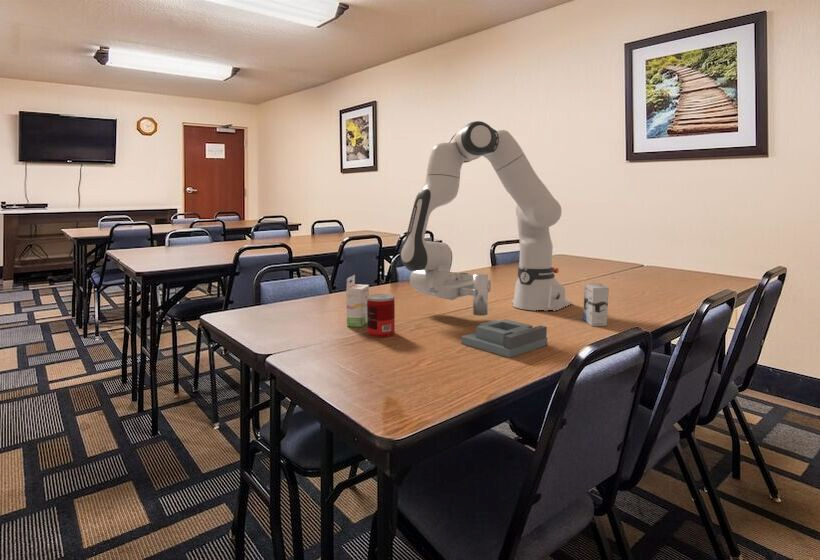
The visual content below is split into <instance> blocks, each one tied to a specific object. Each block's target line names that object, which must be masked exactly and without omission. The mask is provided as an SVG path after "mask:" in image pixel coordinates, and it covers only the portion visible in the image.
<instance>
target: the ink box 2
mask: <svg viewBox="0 0 820 560" xmlns="http://www.w3.org/2000/svg"><path fill="white" fill-rule="evenodd" d="M609 290H610V289H609V287H608V286H606V285H604V284H602V283H600V282H599V283H598V282H596V283H594V282H593V283H584V291H583V292H584V293H583V308H582V309H583V310H582V311H583V312H582V320H583V321H584V322H586V323H587V324H588V325H590V326H591V327H607V325H608V309H609V308H608V305H609Z"/></svg>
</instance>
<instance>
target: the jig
mask: <svg viewBox="0 0 820 560" xmlns="http://www.w3.org/2000/svg"><path fill="white" fill-rule="evenodd" d="M533 326H534V325H531V324H527V323H523V322H518V321H515V320H509V319H505V318H504V319H501V320H496V319H493V320H489V321H485V322H482V323H479V324H478V326H476V327H475V332H473V333H472V332H471V333H470V334H469V333H468V334H466V335H465V334H464V335H461V336H460V337H461V339H460V343H461V344H462V345H465V346H467V347H471V348H475V349H477V350H478V349H479V350H481V351H482V350H483V351H484V352H488V353H492V354H496V355H499V356H502V357H505V358H514V357H515V356H518V355H522V354H524V353H528V352H530V351H534V350H536V348H537V349H539V347H540V348H542V346H543V347H545V345H546V346H548V336H547V334H548V333H547V332H548V328H547V327H548V326H543V325H537V326H534V327H533Z"/></svg>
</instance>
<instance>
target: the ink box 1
mask: <svg viewBox="0 0 820 560" xmlns="http://www.w3.org/2000/svg"><path fill="white" fill-rule="evenodd" d="M350 281H351V282H350ZM355 282H356V275H355V274H353V275H352V276H349V277H348V278H346V289H345V291H346V293H345V294H346V327H349V326H350V328H362V327H364V326H365V325H366V324H368V322H367V297H368V296H369V295H370V284H358V283H357V284H356V283H355Z"/></svg>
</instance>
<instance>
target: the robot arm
mask: <svg viewBox="0 0 820 560" xmlns="http://www.w3.org/2000/svg"><path fill="white" fill-rule="evenodd" d="M481 157H483V158H485V159H487V160H488V161H489V163H490V164H491V167H492V168H493V170H494V171H495V173H496V175H497V177H498V178H499V181H500V182H501V184H502V185H503V187H504V189H505V191H506V192H507V193H508V194H509V195H510V196H511V198H512V199H513V201H515V203H516V207H515V215H516V220H517V231H518V232H517V233H518V239H519V265H518V266H517V270H516V271H517V277H518V278H517V280H516V282H515V285H514V286H515V287H514V296H513V299H511V304H513V307H514V308H516V309H521V310H527V311H536V310H537V311H538V310H544V311H548V310H553V311H552V312H557V311H556V310H558V311H560V310H562V309H564V308H566V307H568V305H569V306H570V304H571V305H572V304H573V303H572V300H570V299H566V289H565V286H563V285H562V284H561V283H560V282H559V281H558V280H557V279H556V278H555V277H556V276H555V274H559V272H560V271H559V270H560V269H559V267H553V242H552V239H551V234H550V227H552V226H554V225H555V224H557V223H558V221H559V220H560V219H561V216H562V207H561V204H560V202H559V201H558V200H557V199H555V197H554V195H553V194H552V193H551V192H550V191H549V189H548V187H547V186H546V185H545V184H544V183H543V181H542V180H541V179H540V177H539V176H538V174H537V173H536V171H535V170H534V169H533V167H532V165H531V162H530V161H529V159H528V157H527V156H526V153H525V152H524V151H523V149H522V147H521V145H520V144H519V143H518V142H517V140H516V139H515V137H514V136H513V135H512V134H511V133H510V132H509V131H508V130H505V129H501V130H500V129H499V130H496V129H495V128H493V127H492V126H490V125H489V124H487V123H486V122H484V121H479V120H477V121H471V122H469V123H468V124H466V125H464V126H462V127H461V128H460V129H459V130H458V131H457V132H456V133H455V134H454V135H453V136H452V137H451V139H450V140H449V141H448V142H441V143H438V144H435V145H434V146H433V148H432V149H431V152H430V156H429V160H428V165H427V168H426V169H427V170H426V177H425V183H424V185H423V187H422V189H421V190H420V191H419V192H418V193H417V194H416V197H415V200H414V202H413V203H414V204H413V207H412V210H411V215H410V220H409V224H408V228H407V231H406V235H405V239H404V241H403V244H402V246H401V249H400V254H399V255H400V260H401V261H400V262H402V264H403V266H404V267H405V268H406V269H407V270H408V271H410V272H411V274H410V276H409V283H410V286H411V287H412V289H413V290H415V291H416V292H417V293H420V294H422V295H425V296H430V297H437V298H439V299H441V300H442V299H443V300H450V301H454V300H456V299H457V298H463V297H467V296H472V297H473V296H475V295H477V294H478V293H477V292H478V290H477V289H473V274H472V273H470V272H456V271H455V272H454V271H451V270H452V269H451V268H452V263H453V253H452V249H451V248H450V245H448V244H447V243H445V242H440V241H429V240H425V237H426V236H425V235H426V232H427V227H428V223H429V219H430V215H431V213H432V212H433V211H434V210H436V209H437V208H440V207H443V206H446V205H448V204H450V203H451V202H453V200H455V198H456V197H457V196H458V193H459V189H460V181H461V179H460V178H461V170H462V166H463V164H465V163H470V162H472V161H475V160H477V159H479V158H481ZM491 287H492V280H491V279H490V278H488V294H489V293H491V290H492V288H491ZM565 306H566V307H565ZM563 307H564V308H563ZM561 308H562V309H561ZM559 309H560V310H559ZM537 311H536V312H537Z"/></svg>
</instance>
